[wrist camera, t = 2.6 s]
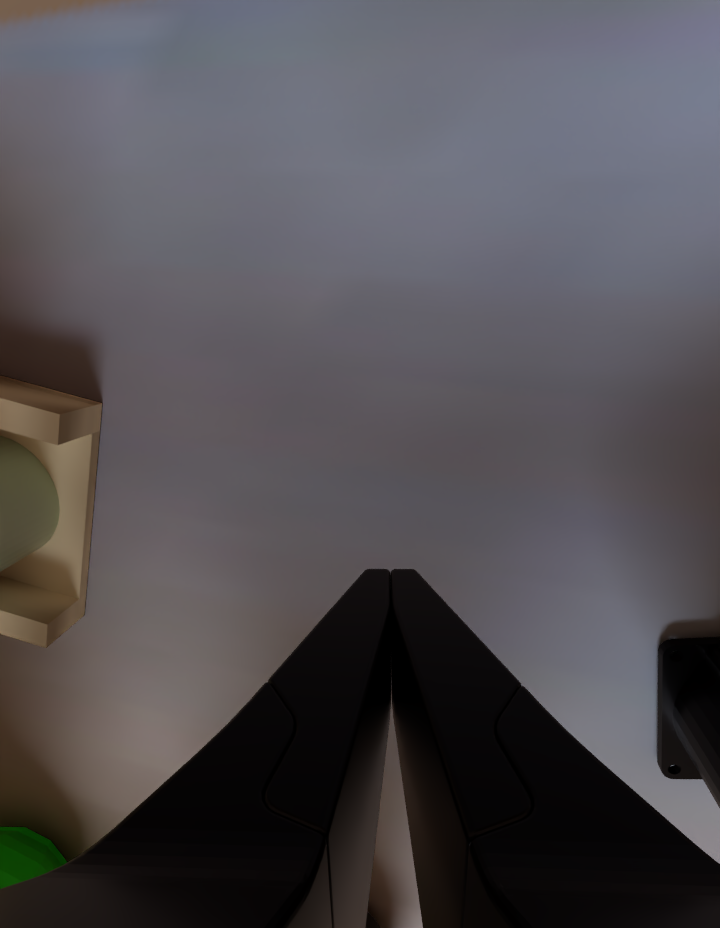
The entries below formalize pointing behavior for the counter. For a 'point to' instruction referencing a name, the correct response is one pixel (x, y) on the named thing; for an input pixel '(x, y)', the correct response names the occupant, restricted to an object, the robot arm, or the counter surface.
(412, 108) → the counter surface
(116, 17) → the counter surface
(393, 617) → the robot arm
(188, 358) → the counter surface
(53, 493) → the glass bottle
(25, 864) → the plastic bottle
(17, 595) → the rest
